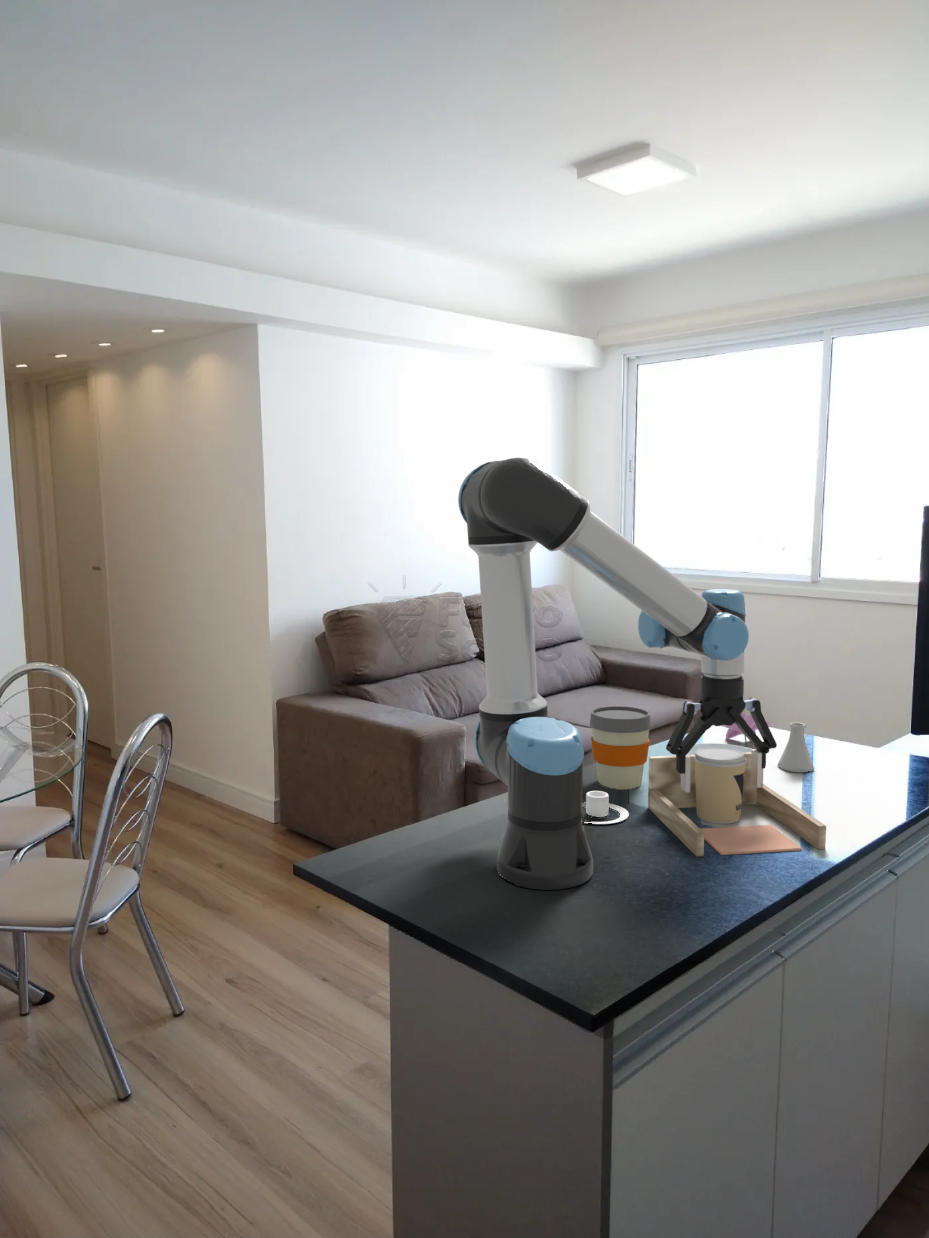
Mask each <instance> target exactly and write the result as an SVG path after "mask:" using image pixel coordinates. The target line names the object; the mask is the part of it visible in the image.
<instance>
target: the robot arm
mask: <svg viewBox="0 0 929 1238" xmlns="http://www.w3.org/2000/svg"><path fill="white" fill-rule="evenodd" d="M457 500H458V509H459V512H460V514H461V517H462V519H463V520H464V522H465V523H466V528H467V529H466V530H467V541H468V542H467V543H468V547H469V548H470V549H472V550H473V552H474V553H476V555H477V556H478V571H479V573H478V574H479V589H480V602H481V603H480V605H481V618H482V621H481V622H482V635H483V650H484V666H485V667H484V668H485V683H486V696H485V698H484V699H483V700H482V701H481V702H480V703H479V705H478V714H479V715H478V716H479V721H478V722H477V724H476V725H475V730H474V733H473V734H474V736H473V743H474V748H475V752H476V754H477V756H478V758H479V760H480V762H481V763H482V765H483V766H484V768H485V769H486V770H487V771H489V772H490V773H492V775H494V776H495V777H496V778H497V779H498V780H500V781H501V782H502V783H503V784H504V785H505V786H506V787H507V824H506V827H505V830H504V834H503V836H502V840H501V843H500V845H499V848H498V851H497V856H496V871H497V870H498V872H499V874H501V876H503V878H505V879H506V880H509V881H510V882H512V883H514V884H513V885H515V884H517V885H516V886H518V887H521V886H523V887H522V888H526V889H532V890H542V891H543V890H545V891H546V890H547V891H552V890H554V891H555V890H556V891H557V890H564V889H565V890H566V889H569V888H574V887H578V886H580V885H582V884H584V883H586V882H588V881H589V880H590V879H591V877H592V876H593V874H594V859H593V855H592V851H591V848H590V845H589V842H588V839H587V835H586V832H585V828H584V826H583V823H582V820H583V808H582V802H583V780H584V779H583V777H584V776H583V774H584V773H583V771H584V758H585V757H584V755H585V752H584V746H583V738H582V735H581V733H580V731H579V729H578V728H577V727H576V726H574V725H573V724H571V723H570V722H567V721H565V720H562V719H560V720H558V719H556V718H554V717H549V714H548V710H549V709H548V702H547V700H546V699H545V698H544V697H543V696H541V695H540V694H539V692H538V679H537V677H538V676H537V659H536V658H537V657H536V642H535V641H536V640H535V639H536V638H535V625H534V623H535V622H534V620H535V619H534V606H533V604H534V603H533V590H532V589H533V588H532V587H533V586H532V571H531V551H532V550H533V549H534V548H535V546H537V544H539V545H541V546H542V547H543V548H545V549H547V550H548V551H549V552H557V551H561V552H562V553H563V554H564V555H566V556H567V557H569V558H570V559H571V560H573V561H574V562H575V563H576V564H578V565H580V566H581V567H582V568H583V569H585V570H586V571H587V572H589V573H590V574H592V575H593V576H595V578H597V579H599V580H600V581H601V582H603V583H604V584H605V585H607V586H608V587H609V588H611V589H612V590H614V591H615V592H617V594H619V595H620V596H622V597H623V598H625V600H627V601H629V602H630V603H631V604H632V605H633V606H635V607H636V608H638V609H640V610H641V611H640V613H639V616H638V623H637V625H638V626H637V628H638V629H637V630H638V634H639V637H640V640H641V642H642V643H643V644H644V645H645V646H646V647H648V648H650V649H651V648H653V649H654V648H655V649H657V648H659V649H663V648H675V649H677V650H678V649H679V650H682V651H684V652H685V651H686V652H689V653H693V654H697V655H699V656H700V667H701V668H700V672H701V673H702V675H701V676H700V701H699V702H691V701H689V700H685V701H684V702H683V704H682V705H683V706H682V713H681V715H680V717H679V719H678V721H677V724H676V725H675V727H674V729H673V732H672V734H671V735H670V738H669V740H668V741H667V743H666V747H665V750H666V751H667V752H669V754H670V755H676V770H677V772H678V773H680V774H681V788H682V789H683V790H684V791H685V792H690V757H689V756H688V755H687V754H688V752H689V751H690V750H691V749H692V747H693V746H694V745H695V744H697V743H698V742H699V740H700V739H701V738H702V736H703V735H704V734H705V733H706V731H707V730H709V729H710V728H711V727H712V726H715V727H722V726H721V725H728V726H730V725H732V724H734V723H735V724H736V725H737V726H738V727H739V729H740V730H741V731H742V732H743V733H744V734H745V735H744V737H745V736H746V739H748V740H749V741H750V742H751V744H752V745H753V747H754V748H756V749H753V748H751V784H753V785H754V786H755V787H757V788H761V769H763V768H764V769H766V766H767V754H768V753H770V750H771V749H775V748H777V745H778V744H777V742H776V740H775V737H774V736H773V734H772V731H771V729H770V727H768V725H767V723H766V721H767V720H766V719H765V716H764V715H763V713H762V705H761V701H760V699H759V700H758V699H756V698H755V697H749V698H748V699H746V700H744V693H745V688H744V687H745V686H744V685H745V684H744V683H745V678H744V677H743V676H742V675H743V674H744V673H745V649H746V648H747V646H748V644H749V640H750V639H749V637H750V636H749V635H750V634H749V629H748V625H747V624H746V616H747V615H746V601H745V595H744V593H743V592H741V591H740V590H738V589H726V588H725V589H724V588H719V589H717V588H716V589H713V588H712V589H707V590H706V589H705V590H704V591H702V593H701V595H700V594H699V593H698V592H697V591H695V590H694V589H693V588H691V587H690V586H688V585H687V584H686V583H685V582H683V581H682V580H681V579H679V578H678V576H677V577H676V575H674V574H673V573H672V572H671V571H669V570H668V569H667V568H665V567H664V566H662V565H661V564H660V563H658V561H656V560H655V559H653V558H652V557H651V556H650V555H648V554H647V553H646V552H644V551H643V550H642V549H640V547H638V546H637V545H635V544H634V543H633V542H631V540H629V539H627V538H626V537H625V536H624V535H622V534H621V533H620V532H619V531H617V530H616V529H615V528H614V527H612V526H611V525H609V524H608V523H607V522H606V521H605V520H604V519H602V518H601V517H599V516H598V515H597V514H595V513H594V512H592V511H591V507H590V501H589V500H588V499H587V498H586V497H584V496H583V495H582V494H580V493H579V492H578V491H577V490H576V489H574V488H573V487H571V485H569V484H568V483H567V482H565V481H564V480H563V479H562V478H560V477H559V476H558V475H557V474H555V473H554V472H553V471H552V470H550V469H548V468H547V467H546V466H544V465H543V464H540V463H539V462H537V461H534V460H531V459H528V458H526V457H525V458H524V457H511V458H508V459H503V460H495V461H494V460H493V461H487V462H485V463H483V464H481V465H479V466H478V467H476V468H474V469H473V470H471V471H470V472H469V474H468V475H466V477H465V478H464V480H463V481H462V483H461V485H460V487H459V491H458V498H457ZM745 709H746V710H747V711H748V712H749V714H750V713H751V716H752V718H753V720H754V722H755V724H756V726H757V728H758V729H757V730H758V732H759V734H760V736H761V738H762V740H761V738H759V736H758V735H757V733H756V734H755V733H754V731H753V730H752V729H751V728H750V727H749V726H748V724H747V723H746V721H745V720H744V719H743V718H742V717H741V713H742V712H743V711H745ZM698 711H700V713H701V715H700V716H699V717H698V719H696V720H697V721H696V723H695V724H694V726H693V727H692V728H691V730H689V732H688V729H689V728H690V725H691V723H692V721H693V719H694V715H697V713H698ZM765 720H766V721H765ZM687 732H688V733H687ZM686 734H687V735H686ZM764 769H763V770H764ZM498 872H497V873H498ZM499 874H498V875H499ZM501 876H500V877H501ZM503 878H502V879H503ZM506 880H505V881H506ZM510 882H509V883H510ZM512 883H511V884H512Z"/></svg>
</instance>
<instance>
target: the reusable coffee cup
mask: <svg viewBox="0 0 929 1238" xmlns="http://www.w3.org/2000/svg"><path fill="white" fill-rule="evenodd" d="M589 719H590V720H589V726H590V727H591V731H592V732H591V734H592V736H591V738H590V742H591V749H592V750H591V752H592V757H593V758H592V759H593V761H594V762H595V765H596V766H595V767H596V773H597V774H596V775H597V782H598V781H599V783H601V784H602V785H605V786H607V787H612V788H616V789H615V790H633V789H636V787H637V788H640V786H641V785H642V781H643V774H644V770H645V769H644V768H645V764H646V763H647V761H648V757H649V755H648V753H649V749H650V741H651V740H650V739H649V736H650V735H649V734H650V729H651V728H652V721H651V713H650V711H648V710H646V709H644V708H640V707H635V706H628V705H627V706H626V705H624V706H623V705H608V706H601V707H597V708H594V709H591V711H590V718H589ZM599 783H598V784H599ZM607 787H606V788H607ZM612 788H611V789H612ZM632 788H633V789H632Z"/></svg>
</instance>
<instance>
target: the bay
mask: <svg viewBox="0 0 929 1238" xmlns="http://www.w3.org/2000/svg"><path fill="white" fill-rule="evenodd" d="M743 753H744V755H745V757H746V759H747V762H746V764H745V776H744V786H743V796H742V806H745V805H748V806H749V805H757V806H758V807H760V808H761V809H763V810H764V811H765V812H766V813H768V814H769V815H771V816H772V817H773V818H775V819H776V820H778V821H779V822H780V823H782V824H783V825H784V826H786V827H787V828H788V829H790V830H791V831H793V832H794V833H795V834H797V835H798V836H800V837H801V838H802V839H803V840H804V841H807V843H809V844H810V845H812V846H813V847H815V848H816V849H817V850H825V849H826V842H827V841H826V839H827V838H826V837H827V825H826V824H824V823H823V822H821V821H820V820H818V819H817V818H815V817H814V816H813V815H811V814H810V813H808V812H807V811H805V810H803V809H802V808H800V807H799V806H797V805H796V804H794V803H793V802H791V801H790V800H788V799H786V798H785V797H784V796H782V795H780V794H779V793H777V792H776V791H774V790H773V789H772V788H770V787H769V786H767V785H765V783H764V769H761V788H757V787H755V786H754V785H753V784H751V752H743ZM688 756H689V757H690V792H685V791H684V790H683V789H682V788H681V774H680V773H678V772H677V770H676V755H675V754H673V755H658V756H657V755H656V756H648V784H647V785H648V786H647V787H648V789H647V790H648V791H647V793H648V795H647V797H648V798H647V803H648V804H647V809H649V811H651V812H652V813H653V814H654V815H655V816H656V817H657V818H658V819H659V820H660V821H661V822H662V823H663V824H664V825H665V827H666V828H668V829H669V830H670V831H671V832H672V833H673V835H674V836H676V837H677V838H678V840H680V841H681V842H682V844H683V845H684V846H685V847H686V848H687V849H689V850H690V851H691V853H692V854H694V855H695V857H704V855H705V854H704V853H705V849H704V847H705V840H704V832H703V831H702V830H701V829H702V828H700V827H699V826H698V825H696V824H695V823H694V822H693V821H692V820H691V819H690V817H688V816H687V815H685V814H684V813H683V811H681V810H680V809H685V808H688V809H689V808H697V807H696V786H695V760H694V755H688Z"/></svg>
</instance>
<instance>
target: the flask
mask: <svg viewBox="0 0 929 1238" xmlns="http://www.w3.org/2000/svg"><path fill="white" fill-rule="evenodd" d="M789 727H790V730H789V731H790V732H789V738H788V741H787V743H786V745H785V747H784V750H783V752H782V755H781V757H780V758H779V760H778V763H777V767H779V768H780V769H782V770H784V771H786V772H787V771H788V772H791V773H809V772H812V771H815V770H814V769H815V767H814V764H813V760H812V759H811V756H810V753H809V750H808V746H807V743H806V736H805V728H807V725H806V723H801V722H789ZM808 771H809V772H808Z"/></svg>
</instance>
